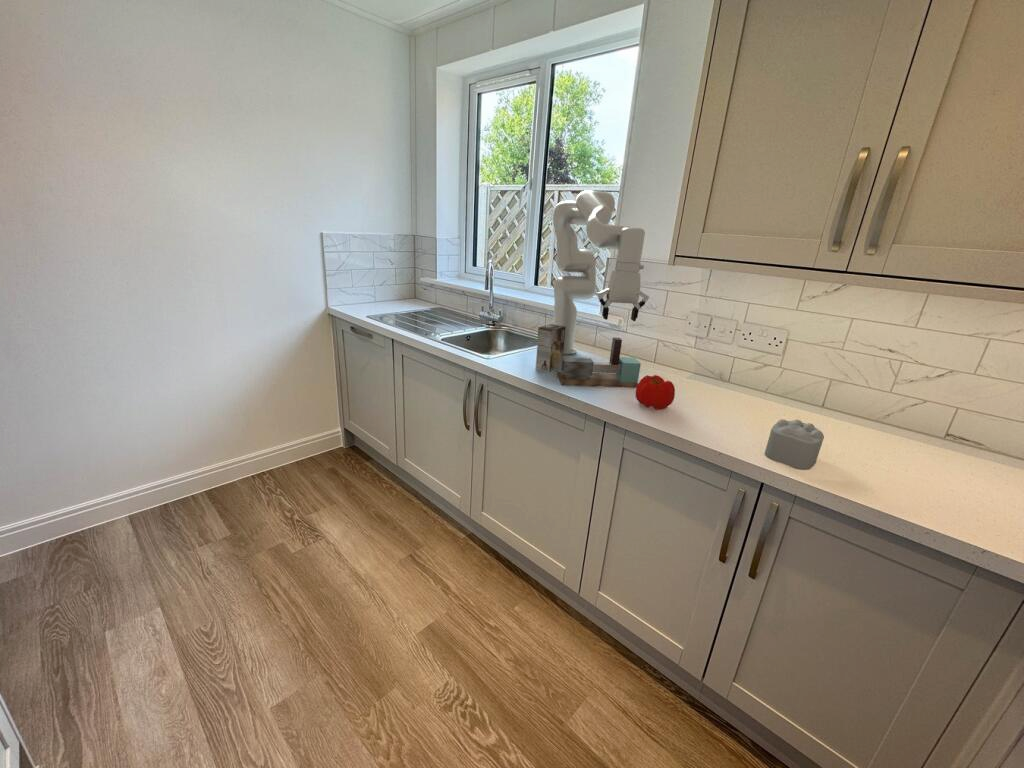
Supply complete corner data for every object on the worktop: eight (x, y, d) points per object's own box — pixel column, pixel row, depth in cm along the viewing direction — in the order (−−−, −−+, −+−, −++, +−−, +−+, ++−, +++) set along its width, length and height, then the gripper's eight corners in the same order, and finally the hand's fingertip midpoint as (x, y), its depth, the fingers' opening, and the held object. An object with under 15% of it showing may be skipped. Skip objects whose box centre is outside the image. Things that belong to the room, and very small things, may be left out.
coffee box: (548, 364, 172) (551, 323, 167) (562, 368, 169) (566, 326, 164) (534, 369, 166) (538, 326, 160) (549, 373, 162) (553, 330, 157)
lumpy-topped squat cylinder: (759, 456, 110) (768, 424, 107) (776, 441, 119) (785, 411, 116) (807, 473, 103) (818, 439, 100) (821, 456, 112) (832, 424, 109)
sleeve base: (561, 385, 150) (563, 364, 148) (556, 373, 162) (558, 354, 159) (639, 388, 152) (642, 367, 150) (629, 376, 164) (632, 357, 161)
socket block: (620, 382, 154) (623, 362, 152) (615, 375, 160) (617, 357, 158) (637, 382, 154) (640, 363, 152) (631, 376, 161) (634, 357, 159)
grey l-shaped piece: (586, 372, 154) (590, 338, 150) (584, 369, 157) (588, 336, 153) (631, 374, 155) (636, 340, 151) (628, 371, 158) (633, 338, 154)
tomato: (627, 400, 141) (631, 373, 138) (660, 399, 144) (665, 372, 141) (644, 414, 131) (649, 385, 128) (680, 412, 134) (685, 383, 131)
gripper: (649, 267, 148) (640, 318, 155) (598, 264, 147) (591, 315, 153) (657, 270, 141) (647, 323, 148) (603, 267, 140) (596, 320, 146)
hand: (619, 319), depth 150 cm, fingers open, 9 cm apart
